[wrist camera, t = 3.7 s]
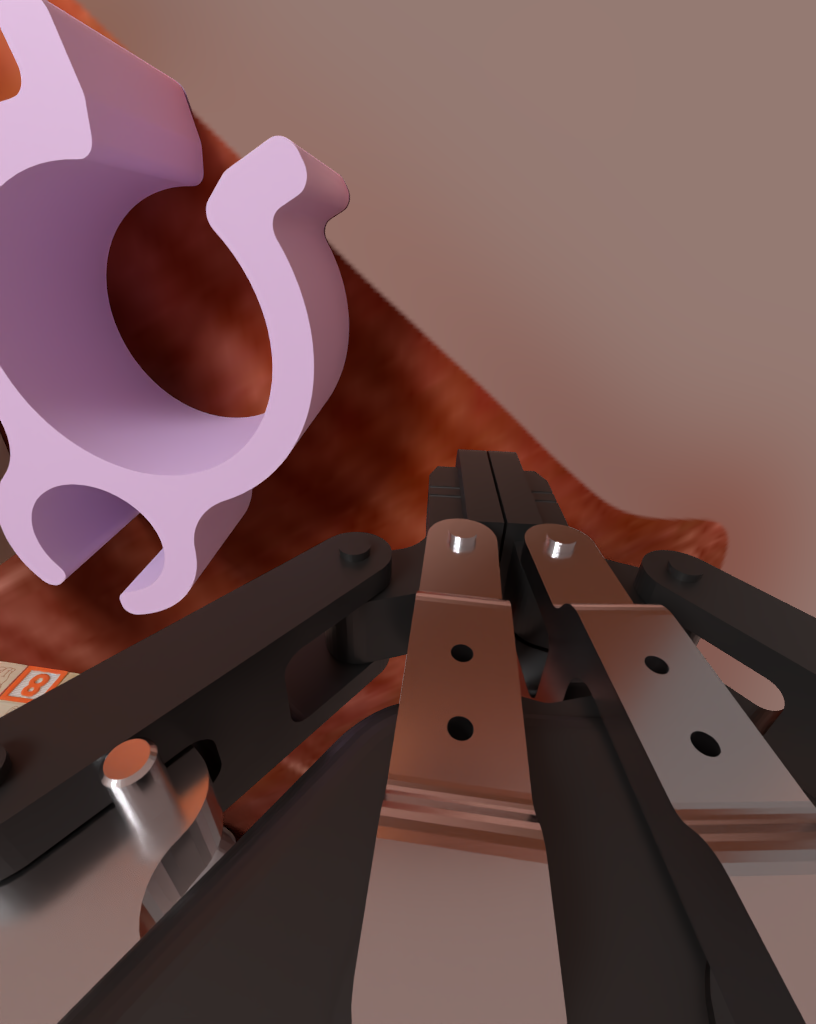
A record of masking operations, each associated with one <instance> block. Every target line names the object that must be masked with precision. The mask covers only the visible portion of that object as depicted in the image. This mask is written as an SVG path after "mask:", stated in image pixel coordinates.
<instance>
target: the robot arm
mask: <svg viewBox="0 0 816 1024" xmlns="http://www.w3.org/2000/svg"><path fill="white" fill-rule="evenodd" d="M700 638H702V639H705V640H706V641H707V642H709V643H711V644H712V645H714V646H715V647H717V648H719V649H720V650H722V651H723V652H725V653H727V654H728V655H730V656H732V657H733V658H735V659H736V660H738V661H740V662H741V663H743V664H744V665H746V666H748V667H749V668H751V669H753V670H754V671H756V672H757V673H759V674H760V675H762V676H764V677H766V678H767V679H768V680H770V681H771V682H773V684H775V685H776V686H777V688H778V689H779V690H780V691H781V693H782V695H783V697H784V700H785V706H784V709H782V710H780V711H770V710H766V709H763V708H761V707H759V706H757V705H755V704H754V703H752V702H751V701H749V700H748V699H746V698H745V697H743V696H742V695H740V694H739V693H737V692H736V691H734V690H733V689H731V688H730V687H728V686H727V685H725V684H724V683H723V682H722V681H721V680H720V678H719V677H718V675H717V674H716V673H715V671H714V670H713V669H712V667H711V666H710V664H709V663H708V662H707V661H706V659H705V658H704V656H703V655H702V654H701V652H700V651H699V650H698V648H697V647H696V645H697V644H698V642H699V640H700ZM405 654H407V657H406V663H405V670H404V676H403V683H402V689H401V696H400V702H399V704H396V705H393V706H390V707H387V708H385V709H382V710H380V711H378V712H376V713H374V714H372V715H370V716H369V717H367V718H365V719H364V720H362V721H360V722H359V723H357V724H356V725H355V726H353V727H352V728H351V729H349V730H348V731H347V732H346V733H344V734H343V735H342V736H341V737H340V738H339V739H338V740H337V741H336V742H335V743H334V744H333V745H332V746H331V747H330V748H329V749H328V750H327V751H326V752H325V753H324V754H323V755H322V756H321V757H320V758H319V759H318V760H317V761H316V762H315V763H314V764H313V765H312V766H311V767H310V768H309V769H308V770H307V771H306V772H305V773H304V774H303V775H302V776H301V777H300V778H299V779H298V780H297V781H296V782H295V783H294V784H293V785H292V786H291V787H290V789H289V790H288V791H287V792H286V793H285V794H284V795H283V796H282V797H281V798H280V799H279V800H278V801H277V802H276V803H275V804H274V805H273V806H272V807H271V808H270V809H269V810H268V811H267V812H266V813H265V814H264V815H263V816H262V817H261V818H260V819H259V820H258V821H257V822H256V823H255V824H254V825H253V826H252V827H251V828H250V829H249V830H248V831H247V832H246V833H245V834H244V835H243V836H242V837H241V838H240V839H239V840H238V841H237V842H236V843H235V844H234V845H233V846H232V847H231V848H230V849H229V850H228V851H227V852H226V853H225V854H224V855H223V856H222V857H221V858H220V859H219V860H218V861H217V862H216V863H215V864H214V865H213V866H212V867H211V868H210V869H209V870H208V871H207V872H206V873H205V874H204V875H203V876H202V877H201V878H200V879H199V880H198V881H197V882H196V884H195V885H194V886H193V887H192V888H191V889H190V890H189V891H188V892H187V893H186V891H187V890H188V888H189V887H190V886H191V885H192V884H193V882H194V881H195V880H196V879H197V878H198V876H199V875H200V874H201V873H202V872H203V871H204V869H205V868H206V867H207V865H208V864H209V862H210V861H211V859H212V858H213V856H214V854H215V852H216V850H217V848H218V845H219V842H220V839H221V835H222V831H223V812H224V811H225V810H226V809H227V808H229V807H230V806H231V805H232V804H233V803H234V802H235V801H236V800H238V799H239V798H240V797H241V796H242V795H243V794H244V793H245V792H247V791H248V790H249V789H250V788H251V787H252V786H253V785H254V784H256V783H257V782H258V781H259V780H260V779H261V778H262V777H263V776H265V775H266V774H267V773H268V772H269V771H270V770H271V769H272V768H274V767H275V766H276V765H277V764H278V763H279V762H280V761H282V760H283V759H284V758H285V757H286V756H287V755H288V754H289V753H291V752H292V751H293V750H294V749H295V748H296V747H297V746H298V745H300V744H301V743H302V742H303V741H304V740H305V739H306V738H307V737H309V736H310V735H311V734H312V733H313V732H314V731H315V730H316V729H318V728H319V727H320V726H321V725H322V724H323V723H324V722H326V721H327V720H328V719H329V718H330V717H331V716H332V715H333V714H335V713H336V712H337V711H338V710H339V709H340V708H341V707H342V706H344V705H345V704H346V703H347V702H348V701H349V700H350V699H351V698H353V697H354V696H355V695H356V694H357V693H358V692H359V691H360V690H362V689H363V688H364V687H365V686H366V685H367V684H368V683H369V682H371V681H372V680H373V679H374V678H375V677H376V676H377V675H379V674H380V673H381V672H382V671H383V670H384V668H385V667H386V665H387V663H388V661H389V658H392V657H396V656H401V655H405ZM185 893H186V894H185ZM184 894H185V895H184ZM0 1024H816V618H815V617H813V616H811V615H808V614H807V613H805V612H803V611H801V610H799V609H797V608H795V607H793V606H790V605H789V604H787V603H785V602H783V601H781V600H779V599H777V598H775V597H773V596H771V595H769V594H767V593H765V592H763V591H761V590H759V589H757V588H755V587H753V586H751V585H749V584H747V583H745V582H743V581H741V580H739V579H737V578H735V577H733V576H731V575H729V574H728V573H725V572H724V571H722V570H720V569H718V568H716V567H714V566H712V565H710V564H708V563H706V562H704V561H702V560H700V559H698V558H695V557H693V556H690V555H687V554H684V553H680V552H676V551H668V550H659V551H653V552H650V553H648V554H646V555H645V556H644V558H643V560H642V562H641V565H640V567H639V568H638V567H634V566H630V565H626V564H622V563H618V562H614V561H611V560H607V559H604V557H603V556H602V554H601V553H600V551H599V550H598V548H597V547H596V545H595V543H594V542H593V541H592V540H591V539H590V538H589V537H588V536H587V535H585V534H584V533H582V532H580V531H578V530H576V529H574V528H571V527H569V526H568V524H567V522H566V520H565V518H564V516H563V514H562V511H561V509H560V507H559V505H558V503H556V499H555V497H554V495H553V494H552V490H551V488H550V486H549V484H548V482H547V481H546V480H545V479H544V478H542V477H541V476H540V475H539V474H537V473H536V472H534V471H523V469H522V466H521V464H520V461H519V459H518V456H517V454H516V452H499V451H487V452H486V451H478V450H460V449H458V452H457V458H456V467H439V466H438V467H437V468H436V469H435V470H434V471H433V472H432V473H431V474H430V477H429V491H428V505H427V519H426V537H425V539H423V540H422V541H421V542H420V543H418V544H416V545H414V546H411V547H408V548H404V549H399V550H393V551H392V550H391V548H390V546H389V544H388V543H387V542H386V541H385V540H383V539H382V538H380V537H378V536H376V535H373V534H369V533H363V532H350V533H343V534H339V535H336V536H334V537H332V538H330V539H328V540H326V541H324V542H322V543H320V544H318V545H317V546H315V547H313V548H311V549H309V550H307V551H306V552H304V553H302V554H300V555H298V556H296V557H295V558H293V559H291V560H289V561H287V562H285V563H284V564H282V565H280V566H278V567H276V568H274V569H272V570H271V571H269V572H267V573H265V574H263V575H261V576H260V577H258V578H256V579H254V580H252V581H250V582H249V583H247V584H245V585H243V586H241V587H239V588H238V589H236V590H234V591H232V592H230V593H228V594H226V595H225V596H223V597H221V598H219V599H217V600H215V601H214V602H212V603H210V604H208V605H206V606H204V607H203V608H201V609H199V610H197V611H195V612H193V613H192V614H190V615H188V616H186V617H184V618H182V619H180V620H179V621H177V622H175V623H173V624H171V625H169V626H168V627H166V628H164V629H162V630H160V631H158V632H157V633H155V634H153V635H151V636H149V637H147V638H146V639H144V640H142V641H140V642H138V643H136V644H134V645H133V646H131V647H129V648H127V649H125V650H123V651H122V652H120V653H118V654H116V655H114V656H112V657H111V658H109V659H107V660H105V661H103V662H101V663H100V664H98V665H96V666H94V667H92V668H90V669H88V670H87V671H85V672H83V673H81V674H79V675H77V676H76V677H74V678H72V679H70V680H68V681H66V682H65V683H63V684H61V685H59V686H57V687H55V688H54V689H52V690H50V691H48V692H46V693H44V694H42V695H41V696H39V697H37V698H35V699H33V700H31V701H30V702H28V703H26V704H24V705H22V706H20V707H19V708H17V709H15V710H13V711H11V712H9V713H8V714H6V715H4V716H2V717H0Z"/></svg>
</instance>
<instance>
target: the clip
mask: <svg viewBox="0 0 816 1024" xmlns="http://www.w3.org/2000/svg"><path fill="white" fill-rule="evenodd" d="M0 27H1V30H2V32H3V34H4V36H5V39H6V41H7V43H8V45H9V47H10V49H11V51H12V53H13V56H14V58H15V60H16V62H17V64H18V67H19V69H20V73H21V81H22V83H21V89H20V91H19V93H18V94H17V95H16V96H15V97H13V98H11V99H8V100H5V101H2V102H0V421H1V423H2V425H3V427H4V429H5V432H6V434H7V437H8V441H9V446H10V463H9V467H8V469H7V472H6V473H5V475H4V477H3V478H2V480H1V482H0V525H1V528H2V530H3V532H4V534H5V537H6V539H7V540H8V542H9V544H10V545H11V547H12V548H13V550H14V551H15V552H16V554H17V555H18V556H19V558H20V559H21V560H22V561H23V562H24V563H25V564H26V565H27V566H28V567H29V568H30V569H31V570H32V571H33V572H34V573H35V574H36V575H37V576H38V577H40V578H41V579H42V580H43V581H45V582H46V583H48V584H51V585H59V584H61V583H62V582H63V581H64V580H66V579H67V578H68V577H69V576H70V575H71V574H72V573H73V572H74V571H76V570H77V569H78V568H79V567H80V566H81V565H82V564H83V563H85V562H86V561H87V560H88V559H89V558H90V557H91V556H92V555H93V554H95V553H96V552H97V551H98V550H99V549H100V548H101V547H102V546H103V545H105V544H106V543H107V542H108V541H109V540H110V539H111V538H112V537H114V536H115V535H116V534H117V533H118V532H119V531H120V530H121V529H122V528H124V527H125V526H126V525H127V524H128V523H129V522H130V521H131V520H132V519H134V518H135V517H136V516H137V515H138V514H139V513H141V514H142V515H143V516H144V517H145V518H146V519H147V520H148V521H149V522H150V524H151V525H152V526H153V528H154V529H155V531H156V532H157V534H158V536H159V538H160V540H161V543H162V546H163V549H162V550H161V551H160V552H159V553H158V554H157V555H156V556H155V558H154V559H153V560H152V561H151V562H150V563H149V564H148V565H147V566H146V567H145V569H144V570H143V571H142V572H141V573H140V574H139V575H138V576H137V577H136V578H135V580H134V581H133V582H132V583H131V584H130V585H129V586H128V587H127V588H126V589H125V591H124V592H123V593H122V594H121V595H120V601H121V604H122V606H123V608H124V609H125V610H126V611H128V612H130V613H132V614H137V615H139V614H149V613H154V612H158V611H162V610H164V609H167V608H169V607H171V606H173V605H175V604H176V603H178V602H179V601H180V600H181V599H182V598H183V597H184V596H185V595H186V594H187V593H188V591H189V590H190V589H191V587H192V586H193V585H194V583H195V582H196V580H197V579H198V578H199V576H200V575H201V574H202V572H203V571H204V569H205V568H206V567H207V565H208V564H209V562H210V561H211V560H212V558H213V557H214V556H215V554H216V553H217V551H218V550H219V549H220V547H221V546H222V544H223V543H224V542H225V540H226V539H227V538H228V536H229V535H230V533H231V532H232V531H233V529H234V528H235V526H236V525H237V524H238V522H239V521H240V520H241V518H242V517H243V515H244V514H245V512H246V511H247V509H248V507H249V504H250V501H251V496H252V488H254V487H255V486H257V485H258V484H260V483H261V482H262V481H264V480H265V479H266V478H268V477H269V476H270V475H271V474H272V473H273V472H274V471H275V470H276V469H277V468H278V467H279V466H280V465H281V464H282V463H283V461H284V460H285V459H286V457H287V456H288V455H289V453H290V452H291V451H292V449H293V448H294V446H295V445H296V444H297V442H298V441H299V440H300V438H301V437H302V435H303V434H304V433H305V431H306V430H307V428H308V427H309V426H310V424H311V423H312V421H313V420H314V419H315V417H316V416H317V414H318V413H319V412H320V410H321V409H322V407H323V406H324V405H325V403H326V402H327V400H328V399H329V397H330V396H331V394H332V393H333V391H334V389H335V387H336V385H337V383H338V381H339V378H340V376H341V373H342V370H343V367H344V364H345V359H346V355H347V349H348V340H349V313H348V304H347V298H346V293H345V288H344V284H343V280H342V277H341V274H340V271H339V268H338V265H337V262H336V260H335V258H334V255H333V253H332V251H331V249H330V247H329V245H328V243H327V241H326V240H327V238H326V235H325V227H326V224H327V223H328V221H329V220H331V219H332V218H333V217H335V216H337V215H338V214H340V213H341V212H343V211H344V210H345V209H346V208H347V207H348V205H349V202H350V193H349V190H348V187H347V185H346V183H345V181H344V179H343V178H342V177H341V176H340V175H339V174H338V173H336V172H335V171H333V170H332V169H331V168H329V167H328V166H326V165H325V164H323V163H322V162H321V161H319V160H318V159H316V158H315V157H313V156H312V155H310V154H309V153H308V152H306V151H305V150H303V149H302V148H300V147H299V146H297V145H296V144H295V143H293V142H292V141H290V140H289V139H288V138H286V137H283V136H273V137H271V138H269V139H268V140H266V141H265V142H264V143H262V144H261V145H260V146H258V147H257V148H256V149H254V150H253V151H251V152H250V153H249V154H248V155H246V156H245V157H243V158H242V159H241V160H239V161H238V162H236V163H235V164H234V165H232V166H231V167H230V168H228V169H227V170H226V171H225V172H224V173H223V175H222V176H221V178H220V180H219V182H218V183H217V185H216V187H215V189H214V191H213V192H212V194H211V196H210V198H209V199H208V202H207V205H206V215H207V219H208V222H209V224H210V226H211V227H212V228H213V230H214V231H215V232H216V233H217V234H218V236H219V237H220V238H221V239H222V240H223V242H224V243H225V244H226V245H227V247H228V248H229V249H230V251H231V252H232V253H233V255H234V256H235V258H236V259H237V261H238V262H239V264H240V266H241V267H242V269H243V271H244V272H245V274H246V276H247V278H248V279H249V281H250V283H251V285H252V287H253V289H254V291H255V294H256V296H257V298H258V301H259V303H260V306H261V309H262V312H263V315H264V318H265V321H266V325H267V328H268V332H269V338H270V343H271V350H272V364H273V374H272V386H271V393H270V398H269V402H268V405H267V409H266V412H265V413H264V414H261V415H257V416H253V417H245V418H228V417H220V416H215V415H211V414H208V413H204V412H202V411H199V410H196V409H194V408H192V407H190V406H188V405H186V404H184V403H182V402H180V401H179V400H177V399H175V398H174V397H172V396H171V395H170V394H168V393H167V392H166V391H164V390H163V389H162V388H161V387H159V386H158V385H157V384H156V383H155V382H154V381H153V380H152V379H151V378H150V377H149V376H148V375H147V374H146V373H145V372H144V371H143V369H142V368H141V367H140V366H139V364H138V363H137V362H136V361H135V359H134V358H133V356H132V355H131V353H130V352H129V350H128V348H127V347H126V345H125V343H124V341H123V340H122V338H121V335H120V333H119V331H118V329H117V326H116V324H115V321H114V318H113V315H112V312H111V308H110V304H109V299H108V292H107V281H106V271H107V260H108V254H109V249H110V246H111V242H112V239H113V237H114V235H115V232H116V230H117V228H118V226H119V225H120V223H121V222H122V220H123V219H124V217H125V216H126V215H127V214H128V212H129V211H130V210H131V209H132V208H133V207H134V206H135V205H136V204H138V203H139V202H140V201H142V200H143V199H145V198H146V197H148V196H150V195H152V194H154V193H156V192H159V191H162V190H165V189H169V188H173V187H181V186H196V185H198V184H200V183H201V181H202V179H203V175H204V170H203V156H202V145H201V141H200V138H199V135H198V132H197V129H196V126H195V123H194V121H193V118H192V115H191V112H190V110H191V111H192V109H191V106H190V103H189V101H188V97H187V94H186V92H185V90H184V88H183V87H182V86H181V85H180V84H179V83H178V82H177V81H176V80H174V79H172V78H170V77H169V76H168V75H166V74H164V73H163V72H161V71H159V70H158V69H156V68H155V67H153V66H151V65H150V64H148V63H147V62H145V61H143V60H142V59H140V58H138V57H137V56H135V55H134V54H132V53H130V52H129V51H127V50H126V49H124V48H122V47H121V46H119V45H118V44H116V43H114V42H113V41H111V40H109V39H108V38H106V37H105V36H103V35H101V34H100V33H98V32H97V31H95V30H93V29H92V28H90V27H88V26H87V25H85V24H84V23H82V22H80V21H79V20H77V19H76V18H74V17H72V16H71V15H69V14H68V13H66V12H64V11H63V10H61V9H59V8H58V7H56V6H55V5H53V4H51V3H50V2H48V1H47V0H0Z"/></svg>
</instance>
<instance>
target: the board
mask: <svg viewBox="0 0 816 1024" xmlns="http://www.w3.org/2000/svg"><path fill="white" fill-rule="evenodd" d="M9 463H10V454H9V452H8V450H7V447H6V445H5V443H4V440H3V438H2V436H1V433H0V482H1V480H2V478H3V477H4V475H5V473H6V472H7V469H8V467H9ZM15 554H16V552H15V551H14V550H13V548H12V547H11V545H10V544H9V542H8V540H7V539H6V537H5V534H4V532H3V530H2V528H1V525H0V565H1V564H2V563H4V562H5V561H6V560H8V559H9V558H10V557H12V556H13V555H15Z"/></svg>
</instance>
